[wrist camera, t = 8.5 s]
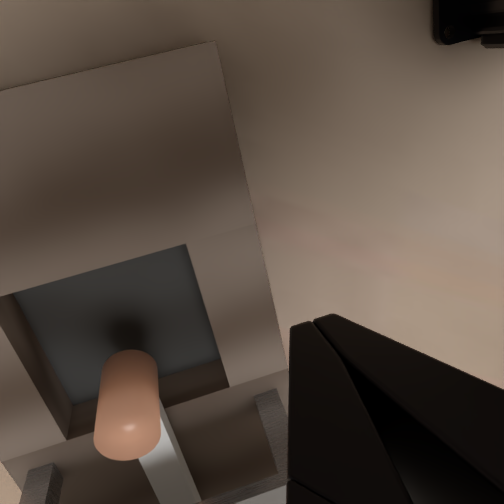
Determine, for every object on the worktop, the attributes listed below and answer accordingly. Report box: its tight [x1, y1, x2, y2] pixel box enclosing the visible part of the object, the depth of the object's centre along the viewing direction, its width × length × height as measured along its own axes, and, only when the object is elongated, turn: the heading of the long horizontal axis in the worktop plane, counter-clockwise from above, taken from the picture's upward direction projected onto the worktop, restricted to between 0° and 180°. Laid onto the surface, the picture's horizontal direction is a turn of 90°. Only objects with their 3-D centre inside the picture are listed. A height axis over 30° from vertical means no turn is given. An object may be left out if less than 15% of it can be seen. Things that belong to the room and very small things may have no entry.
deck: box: [0, 41, 289, 504], centre depth 24 cm, size 38×14×2 cm, turn 12°
